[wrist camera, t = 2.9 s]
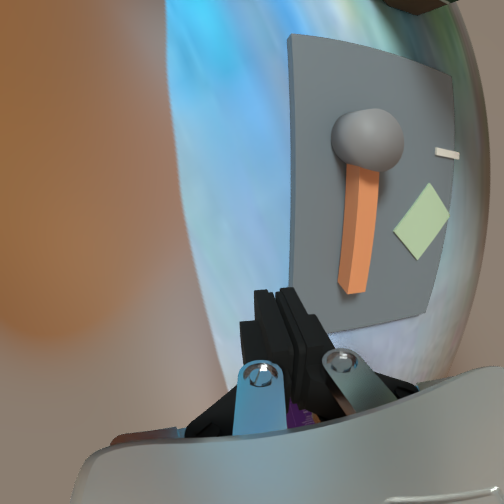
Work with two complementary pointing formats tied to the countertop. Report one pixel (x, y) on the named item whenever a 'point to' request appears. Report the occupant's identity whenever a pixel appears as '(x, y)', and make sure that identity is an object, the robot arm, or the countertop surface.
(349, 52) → the tuner board
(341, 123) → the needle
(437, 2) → the beer bottle
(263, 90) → the countertop surface
